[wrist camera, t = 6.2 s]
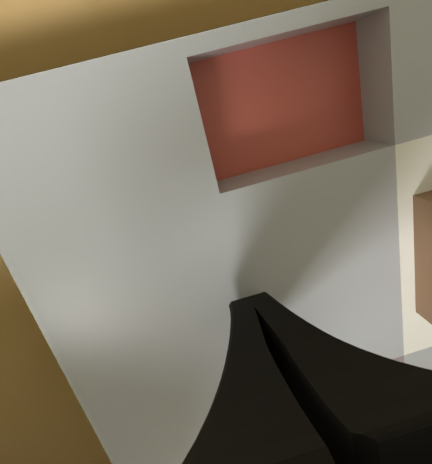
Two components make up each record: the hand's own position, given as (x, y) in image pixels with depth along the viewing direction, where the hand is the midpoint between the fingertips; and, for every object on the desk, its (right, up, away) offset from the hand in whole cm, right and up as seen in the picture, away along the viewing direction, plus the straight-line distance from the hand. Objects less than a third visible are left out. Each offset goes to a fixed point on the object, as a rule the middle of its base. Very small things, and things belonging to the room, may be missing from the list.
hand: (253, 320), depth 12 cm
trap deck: (+2, +2, +3) cm, 4 cm away
